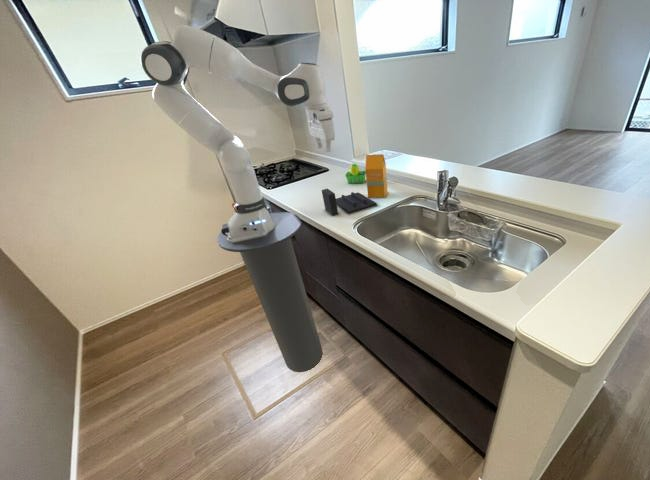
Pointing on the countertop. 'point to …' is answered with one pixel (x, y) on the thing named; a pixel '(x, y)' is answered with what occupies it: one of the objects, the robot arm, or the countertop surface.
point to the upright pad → (330, 202)
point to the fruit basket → (355, 175)
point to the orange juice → (376, 176)
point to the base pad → (354, 202)
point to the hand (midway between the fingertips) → (324, 149)
